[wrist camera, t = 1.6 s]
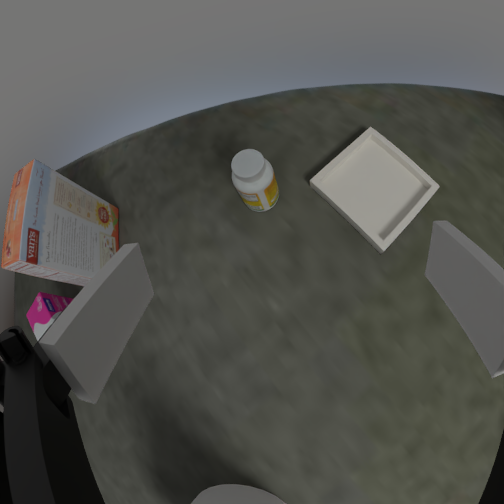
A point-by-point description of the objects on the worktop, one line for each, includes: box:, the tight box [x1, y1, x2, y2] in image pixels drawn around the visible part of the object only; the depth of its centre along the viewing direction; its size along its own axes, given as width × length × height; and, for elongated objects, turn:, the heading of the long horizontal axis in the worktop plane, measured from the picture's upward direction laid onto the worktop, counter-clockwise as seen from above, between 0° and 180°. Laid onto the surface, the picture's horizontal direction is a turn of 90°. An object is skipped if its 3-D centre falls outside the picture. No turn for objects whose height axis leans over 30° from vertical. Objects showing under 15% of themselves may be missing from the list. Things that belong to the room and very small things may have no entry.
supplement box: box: [27, 292, 73, 341], centre depth 38 cm, size 6×6×12 cm
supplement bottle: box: [231, 149, 279, 212], centre depth 37 cm, size 5×5×10 cm
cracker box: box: [1, 159, 119, 286], centre depth 36 cm, size 14×6×21 cm, turn 10°
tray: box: [310, 127, 440, 255], centre depth 37 cm, size 14×14×2 cm
